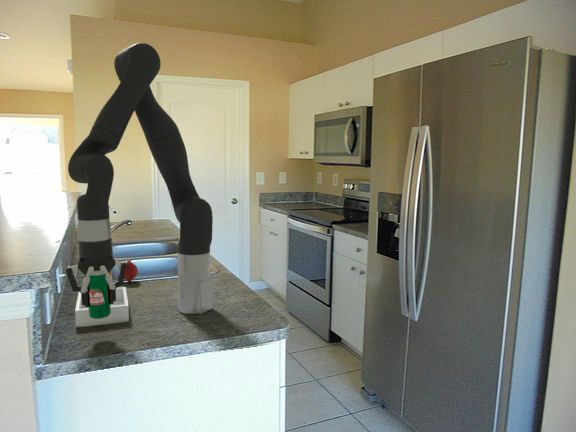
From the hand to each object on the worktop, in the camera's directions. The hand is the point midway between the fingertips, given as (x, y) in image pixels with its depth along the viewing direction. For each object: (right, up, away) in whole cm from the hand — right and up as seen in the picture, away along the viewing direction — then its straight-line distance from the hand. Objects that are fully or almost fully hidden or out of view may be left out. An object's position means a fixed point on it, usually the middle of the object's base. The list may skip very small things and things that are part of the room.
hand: (99, 304), depth 110 cm
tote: (-6, -6, +17) cm, 19 cm away
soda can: (0, -3, +1) cm, 3 cm away
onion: (-10, -2, +49) cm, 50 cm away
